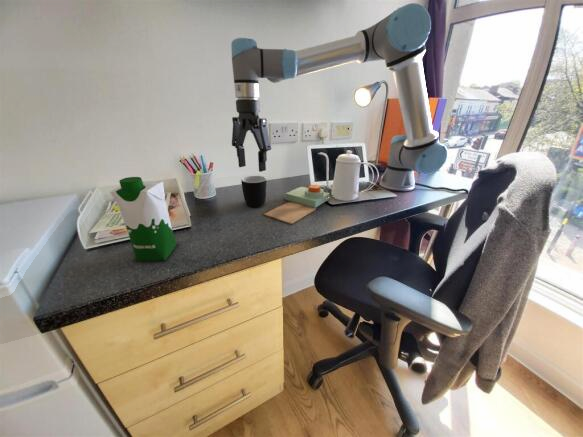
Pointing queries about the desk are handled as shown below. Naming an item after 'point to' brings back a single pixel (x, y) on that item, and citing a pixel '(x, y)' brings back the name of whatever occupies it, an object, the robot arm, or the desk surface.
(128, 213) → the milk carton
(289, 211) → the coaster
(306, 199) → the push button box
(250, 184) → the mug
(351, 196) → the coffeepot
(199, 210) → the desk surface
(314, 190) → the switch
